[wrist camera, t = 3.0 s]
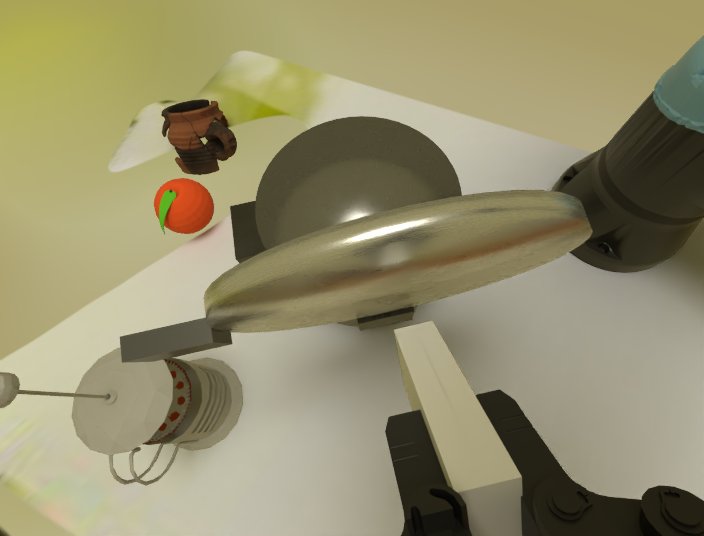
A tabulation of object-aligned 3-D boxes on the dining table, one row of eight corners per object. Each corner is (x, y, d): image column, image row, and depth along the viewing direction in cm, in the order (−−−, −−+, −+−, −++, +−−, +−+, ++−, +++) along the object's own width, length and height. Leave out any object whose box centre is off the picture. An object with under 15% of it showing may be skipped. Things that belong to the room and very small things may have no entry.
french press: (248, 358, 44) (99, 297, 21) (233, 471, 40) (26, 554, 16) (167, 356, 45) (-66, 295, 21) (144, 467, 40) (-175, 540, 17)
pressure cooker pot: (417, 167, 52) (428, 99, 40) (469, 322, 44) (500, 290, 32) (255, 203, 51) (220, 144, 40) (276, 365, 43) (240, 349, 32)
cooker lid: (710, 138, 12) (736, 190, 12) (499, 272, 33) (505, 294, 32) (-56, 307, 12) (-57, 367, 12) (207, 337, 32) (210, 360, 32)
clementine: (206, 255, 49) (179, 230, 42) (159, 243, 50) (126, 217, 44) (230, 203, 52) (208, 172, 45) (185, 192, 53) (157, 161, 46)
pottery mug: (164, 172, 55) (139, 114, 50) (211, 149, 61) (193, 94, 56) (223, 185, 50) (203, 120, 45) (269, 157, 56) (255, 98, 51)
